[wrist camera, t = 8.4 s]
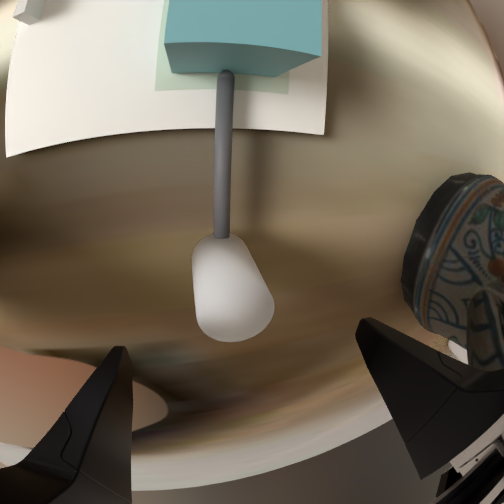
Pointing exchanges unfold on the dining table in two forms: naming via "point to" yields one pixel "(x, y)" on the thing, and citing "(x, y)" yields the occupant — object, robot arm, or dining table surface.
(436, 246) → the beer stein
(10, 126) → the shelf
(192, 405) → the dining table surface
